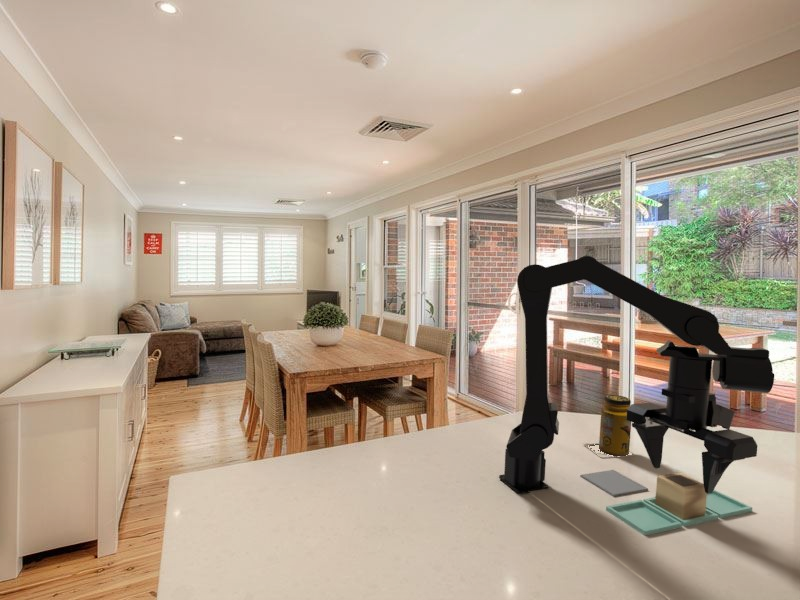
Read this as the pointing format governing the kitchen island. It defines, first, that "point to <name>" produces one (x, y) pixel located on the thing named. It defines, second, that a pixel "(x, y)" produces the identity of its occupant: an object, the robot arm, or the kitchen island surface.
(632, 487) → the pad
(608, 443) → the condiment
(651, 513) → the dish near
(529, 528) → the kitchen island surface
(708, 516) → the dish middle
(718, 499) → the dish far
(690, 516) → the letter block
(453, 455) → the kitchen island surface
